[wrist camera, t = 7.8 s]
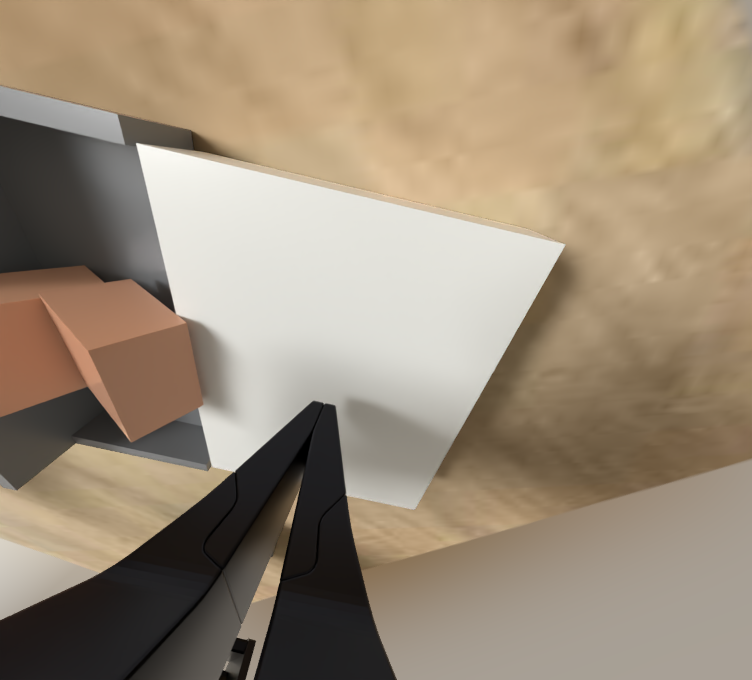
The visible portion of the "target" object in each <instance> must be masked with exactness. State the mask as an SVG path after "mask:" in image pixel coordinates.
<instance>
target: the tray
mask: <svg viewBox="0 0 752 680" xmlns="http://www.w3.org/2000/svg"><path fill="white" fill-rule="evenodd" d="M136 143H140V144H148V145H155V146H163V147H171V148H178V149H186V150H194V148H193V141H192V133H191V130H187V129H183V128H179V127H175V126H170V125H166V124H162V123H158V122H154V121H150V120H145V119H141V118H137V117H133V116H129V115H124V114H120V113H116V112H112V111H108V110H103V109H99V108H95V107H91V106H87V105H82V104H78V103H74V102H70V101H66V100H61V99H57V98H53V97H49V96H45V95H40V94H36V93H32V92H28V91H24V90H19V89H15V88H11V87H7V86H3V85H0V273H9V272H19V271H30V270H40V269H51V268H61V267H72V266H82V265H85V266H86V267H87V268H88V269H89V270H91V271H92V272H93V273H94V274H95V275H96V276H97V277H99V278H100V279H101V280H102V281H103V282H104V283H106V282H113V281H119V280H126V279H132V280H133V281H134V282H136V283H137V284H138V285H140V286H141V287H142V288H143V289H145V290H146V291H147V292H148V293H150V294H151V295H152V296H153V297H155V298H156V299H157V300H159V301H160V302H161V303H162V304H164V305H165V306H166V307H167V308H169V309H170V310H171V311H172V312H174V313H175V314H176V311H175V307H174V303H173V298H172V294H171V290H170V286H169V281H168V277H167V273H166V269H165V264H164V260H163V256H162V251H161V247H160V243H159V239H158V234H157V230H156V226H155V222H154V217H153V213H152V209H151V205H150V200H149V196H148V192H147V187H146V183H145V179H144V175H143V170H142V166H141V162H140V158H139V153H138V149H137V145H136ZM75 443H77V444H82V445H87V446H92V447H96V448H101V449H106V450H110V451H115V452H120V453H125V454H129V455H134V456H139V457H144V458H148V459H153V460H158V461H162V462H167V463H172V464H177V465H181V466H186V467H191V468H195V469H200V470H205V471H208V470H209V468H210V467H211V466H212V465H211V461H210V456H209V452H208V448H207V444H206V439H205V435H204V431H203V426H202V422H201V418H200V414H199V409H198V408H197V409H195V410H193V411H191V412H189V413H187V414H185V415H183V416H182V417H180V418H178V419H176V420H174V421H172V422H170V423H168V424H166V425H164V426H162V427H160V428H158V429H157V430H155V431H153V432H151V433H149V434H147V435H145V436H143V437H141V438H139V439H137V440H135V441H134V442H132V443H131V442H130V440H129V439H128V438H127V436H126V435H125V434H124V433H123V431H122V430H121V429H120V427H119V426H118V425H117V424H116V422H115V421H114V420H113V418H112V417H111V416H110V415H109V413H108V412H107V411H106V409H105V408H104V407H103V406H102V404H101V403H100V402H99V400H98V399H97V398H96V397H95V395H94V394H93V393H92V391H91V390H90V389H89V388H88V387H85V388H82V389H79V390H77V391H74V392H71V393H68V394H65V395H62V396H59V397H57V398H54V399H51V400H48V401H45V402H42V403H39V404H37V405H34V406H31V407H28V408H25V409H22V410H19V411H17V412H14V413H11V414H8V415H5V416H2V417H0V485H1V486H2V487H3V488H8V489H12V490H18V489H19V488H20V487H22V486H23V485H24V484H25V483H27V482H28V481H29V480H30V479H32V478H33V477H34V476H35V475H37V474H38V473H39V472H40V471H42V470H43V469H44V468H45V467H47V466H48V465H49V464H50V463H52V462H53V461H54V460H55V459H57V458H58V457H59V456H60V455H62V454H63V453H64V452H65V451H67V450H68V449H69V448H70V447H72V446H73V445H74V444H75Z"/></svg>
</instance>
